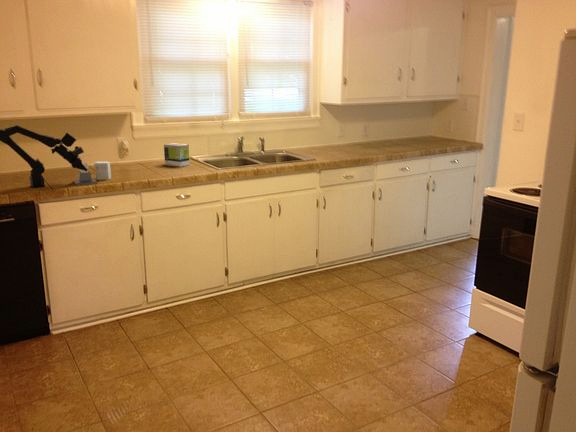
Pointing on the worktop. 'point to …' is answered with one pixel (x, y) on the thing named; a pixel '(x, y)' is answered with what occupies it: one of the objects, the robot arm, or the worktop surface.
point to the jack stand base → (85, 179)
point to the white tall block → (86, 167)
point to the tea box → (176, 154)
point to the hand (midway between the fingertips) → (86, 169)
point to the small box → (102, 170)
